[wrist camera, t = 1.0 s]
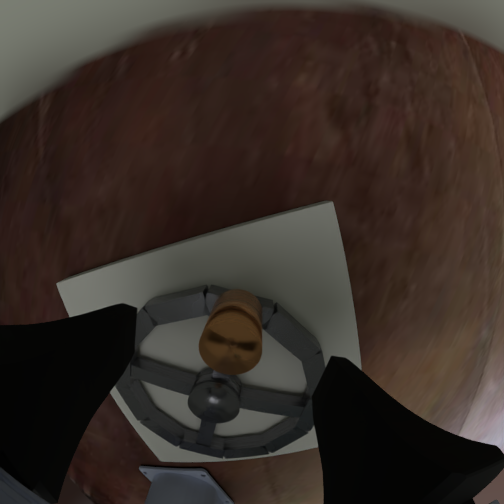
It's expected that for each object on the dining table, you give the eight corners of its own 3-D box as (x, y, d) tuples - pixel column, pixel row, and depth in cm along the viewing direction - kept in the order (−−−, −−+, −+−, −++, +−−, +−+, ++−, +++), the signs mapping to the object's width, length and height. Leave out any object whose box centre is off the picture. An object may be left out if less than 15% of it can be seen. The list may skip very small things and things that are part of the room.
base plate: (360, 421, 19) (365, 434, 17) (164, 450, 20) (160, 462, 19) (326, 200, 15) (333, 201, 13) (68, 277, 17) (55, 283, 15)
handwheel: (285, 456, 17) (288, 502, 13) (123, 416, 17) (100, 457, 13) (360, 308, 14) (394, 352, 10) (128, 250, 14) (79, 274, 10)
